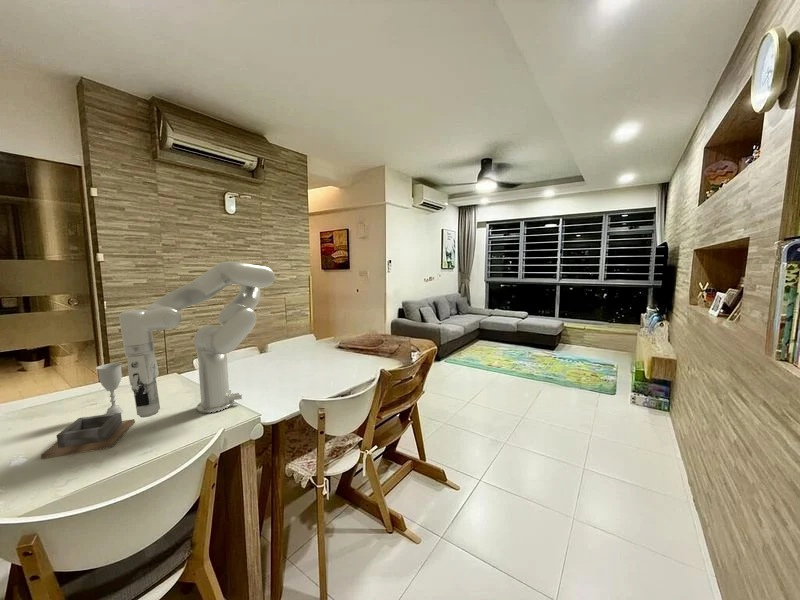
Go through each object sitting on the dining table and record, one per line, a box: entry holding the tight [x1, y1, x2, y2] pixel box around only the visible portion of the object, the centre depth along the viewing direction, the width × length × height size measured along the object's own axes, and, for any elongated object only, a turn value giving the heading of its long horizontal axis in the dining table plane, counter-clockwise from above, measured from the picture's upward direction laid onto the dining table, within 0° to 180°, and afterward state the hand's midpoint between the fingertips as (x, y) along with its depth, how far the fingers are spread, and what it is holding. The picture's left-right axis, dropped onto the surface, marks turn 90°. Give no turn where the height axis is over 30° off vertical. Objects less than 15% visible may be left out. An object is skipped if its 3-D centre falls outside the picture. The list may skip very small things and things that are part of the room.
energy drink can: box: [133, 373, 161, 419], centre depth 104 cm, size 6×6×15 cm
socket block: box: [40, 413, 136, 459], centre depth 100 cm, size 16×16×5 cm
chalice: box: [95, 362, 124, 415], centre depth 116 cm, size 7×7×18 cm
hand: (147, 400), depth 105 cm, fingers closed on energy drink can, 6 cm apart
